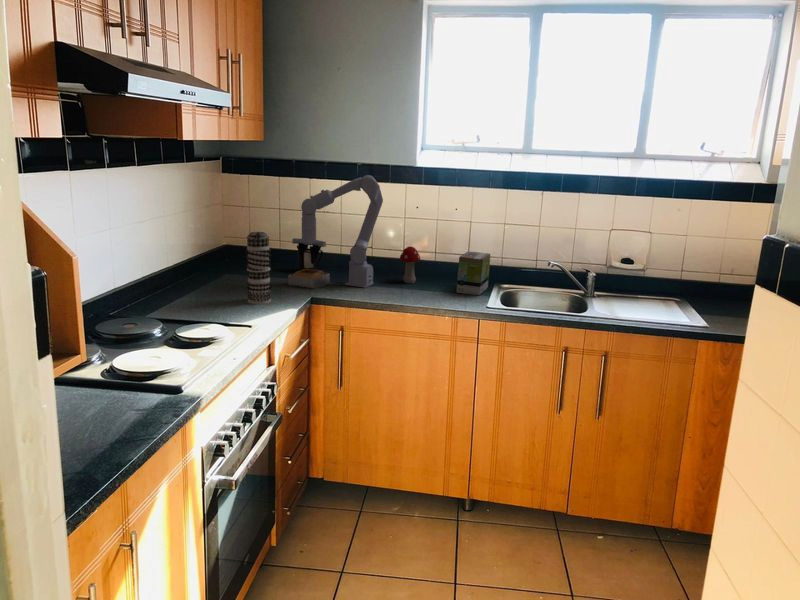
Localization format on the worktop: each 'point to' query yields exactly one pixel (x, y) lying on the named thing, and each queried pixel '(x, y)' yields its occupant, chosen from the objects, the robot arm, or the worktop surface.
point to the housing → (308, 278)
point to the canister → (307, 259)
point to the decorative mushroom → (409, 263)
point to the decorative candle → (258, 268)
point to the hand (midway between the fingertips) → (309, 262)
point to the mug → (303, 263)
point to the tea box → (473, 273)
